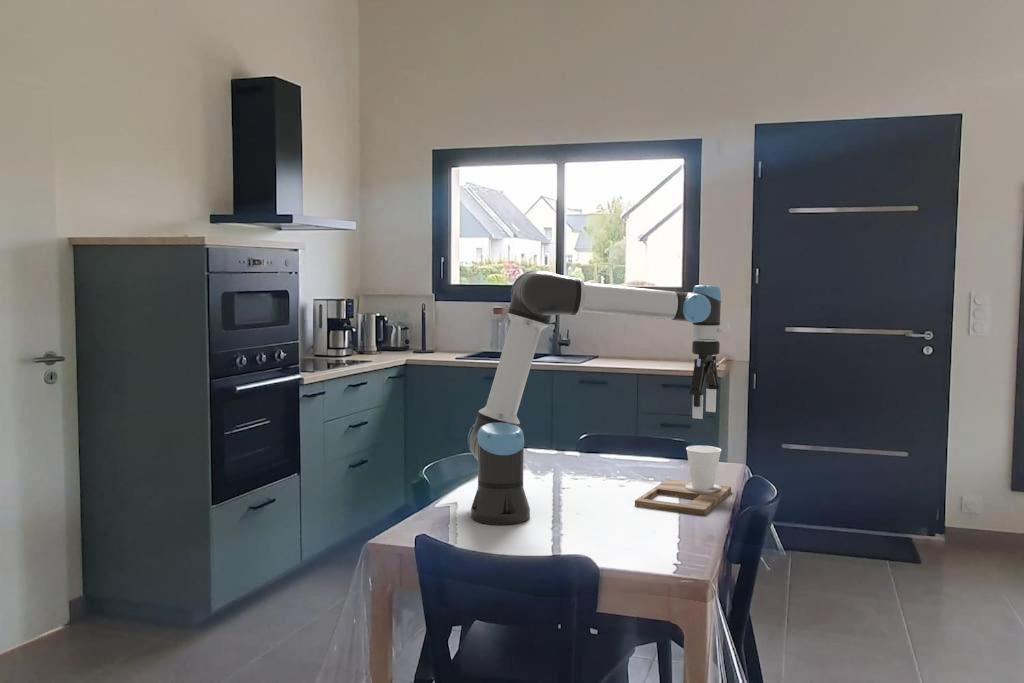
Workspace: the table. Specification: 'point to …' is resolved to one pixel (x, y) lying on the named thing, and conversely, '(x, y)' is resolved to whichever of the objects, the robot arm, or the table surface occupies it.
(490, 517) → the robot arm
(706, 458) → the cup
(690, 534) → the table surface
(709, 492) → the board
